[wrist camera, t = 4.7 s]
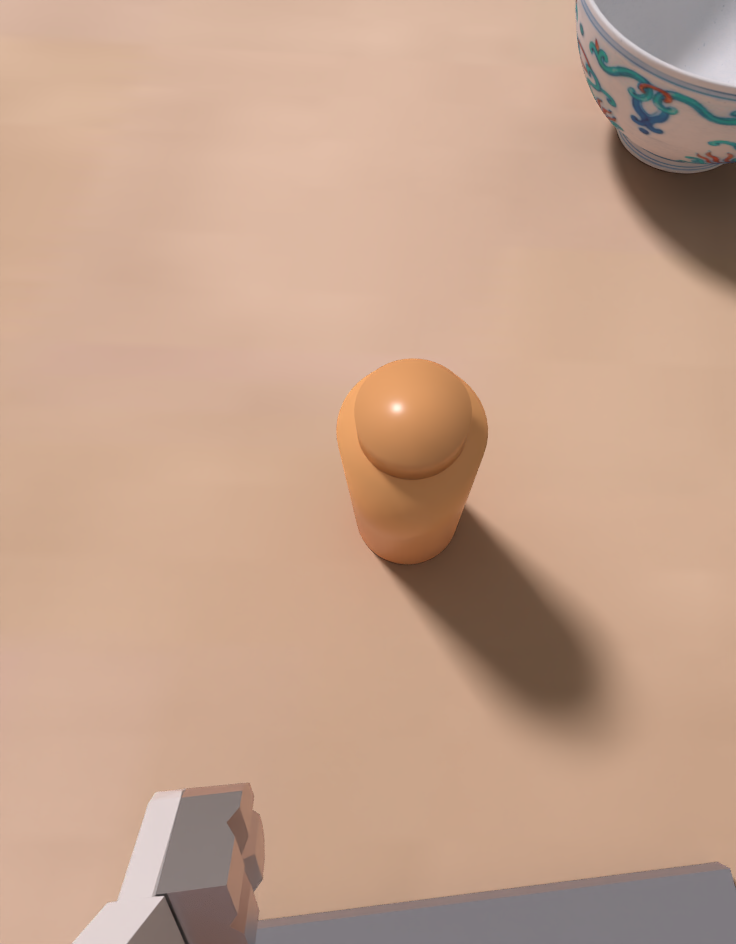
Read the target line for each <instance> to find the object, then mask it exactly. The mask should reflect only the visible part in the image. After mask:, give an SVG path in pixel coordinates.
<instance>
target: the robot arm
mask: <svg viewBox="0 0 736 944" xmlns="http://www.w3.org/2000/svg"><path fill="white" fill-rule="evenodd" d="M253 802H254V794H253V791H252V788H251V785H250V783H240V784H229V785H219V786H208V787H198V788H187V789H178V790H170V791H161V792H155V794H154V795H153V797H152V798H151V800H150V801H149V803H148V806H147V809H146V812H145V815H144V818H143V821H142V825H141V828H140V831H139V834H138V837H137V840H136V843H135V846H134V850H133V853H132V856H131V859H130V862H129V865H128V868H127V871H126V875H125V878H124V881H123V884H122V887H121V890H120V893H119V896H118V900H117V901H114V902H108V903H106V905H105V906H104V907H103V908H102V909H101V910H100V912H99V913H98V914H97V915H96V916H95V917H94V918H93V920H92V921H91V922H90V923H89V924H88V925H87V926H86V928H85V929H84V930H83V931H82V932H81V933H80V935H79V936H78V937H77V938H76V939H75V940H74V941H73V943H72V944H255V942H256V934H257V925H258V916H259V908H258V905H257V902H256V899H255V896H254V891H255V890H256V888H257V887H258V885H259V884H260V882H261V881H262V880H263V871H264V860H265V848H264V832H263V825H262V821H261V817H260V814H258V813H257V812H255V811H254V810H252V809H253Z"/></svg>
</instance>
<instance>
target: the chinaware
mask: <svg viewBox="0 0 736 944" xmlns="http://www.w3.org/2000/svg"><path fill="white" fill-rule="evenodd" d="M576 30H577V40H578V48H579V54H580V59H581V63H582V67H583V71H584V74H585V77H586V80H587V83H588V85H589V87H590V90H591V92H592V94H593V96H594V98H595V100H596V102H597V103H598V105H599V107H600V108H601V110H602V111H603V113H604V114H605V115H606V117H607V118H608V119H609V121H610V122H611V123H612V124H613V125H614V126H615V127H616V129H617V133H618V136H619V138H620V140H621V142H622V143H623V145H624V146H625V147H626V149H627V150H628V151H629V152H630V153H631V154H632V155H634V156H635V157H636V158H637V159H639V160H640V161H642V162H644V163H646V164H648V165H650V166H652V167H654V168H657V169H660V170H664V171H668V172H674V173H698V172H704V171H708V170H711V169H714V168H716V167H718V166H720V165H722V164H725V163H734V162H736V0H576Z"/></svg>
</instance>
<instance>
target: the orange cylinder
mask: <svg viewBox="0 0 736 944" xmlns="http://www.w3.org/2000/svg"><path fill="white" fill-rule="evenodd" d="M487 438H488V425H487V418H486V415H485V411H484V408H483V406H482V404H481V402H480V400H479V398H478V397H477V395H476V394H475V392H474V391H473V390H472V389H471V387H470V386H469V385H468V384H466V383H465V382H464V381H463V380H462V379H461V378H459V377H458V376H456V375H455V374H454V373H453V372H451V371H450V370H449V369H447V368H445V367H444V366H442V365H440V364H437V363H435V362H432V361H428V360H423V359H402V360H397V361H394V362H391V363H388V364H386V365H384V366H382V367H380V368H379V369H377V370H376V371H374V372H372V373H371V374H369V375H367V376H366V377H365V378H363V379H362V380H361V381H359V382H358V383H357V384H356V385H355V386H354V387H353V389H352V390H351V391H350V392H349V394H348V395H347V397H346V399H345V400H344V402H343V404H342V407H341V409H340V412H339V416H338V420H337V441H338V447H339V451H340V455H341V459H342V463H343V468H344V472H345V476H346V480H347V484H348V488H349V493H350V497H351V501H352V505H353V509H354V513H355V518H356V522H357V526H358V529H359V532H360V535H361V537H362V539H363V540H364V542H365V543H366V545H367V546H368V547H369V548H370V549H371V550H372V551H373V552H374V553H375V554H377V555H378V556H380V557H381V558H383V559H385V560H387V561H390V562H393V563H398V564H407V565H408V564H417V563H422V562H425V561H428V560H430V559H432V558H434V557H435V556H437V555H438V554H439V553H441V552H442V551H443V550H444V549H445V548H446V546H447V545H448V544H449V542H450V541H451V539H452V537H453V535H454V533H455V530H456V528H457V525H458V522H459V520H460V517H461V514H462V512H463V509H464V506H465V503H466V501H467V498H468V495H469V493H470V490H471V487H472V485H473V482H474V479H475V476H476V474H477V471H478V468H479V466H480V463H481V460H482V458H483V455H484V452H485V448H486V445H487Z"/></svg>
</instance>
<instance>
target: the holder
mask: <svg viewBox="0 0 736 944" xmlns="http://www.w3.org/2000/svg"><path fill="white" fill-rule="evenodd" d="M255 944H736V888H735V884H734V881H733V877H732V874H731V870H730V868H728V867H726V866H724V865H722V864H721V863H719V862H714V863H706V864H699V865H691V866H683V867H675V868H667V869H659V870H652V871H644V872H636V873H628V874H620V875H612V876H605V877H597V878H589V879H581V880H573V881H566V882H558V883H550V884H542V885H534V886H526V887H519V888H511V889H503V890H495V891H487V892H479V893H472V894H464V895H456V896H448V897H440V898H433V899H425V900H417V901H409V902H401V903H393V904H386V905H378V906H370V907H362V908H354V909H346V910H339V911H331V912H323V913H315V914H307V915H299V916H292V917H284V918H276V919H268V920H260V921H258V925H257V934H256V942H255Z"/></svg>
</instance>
